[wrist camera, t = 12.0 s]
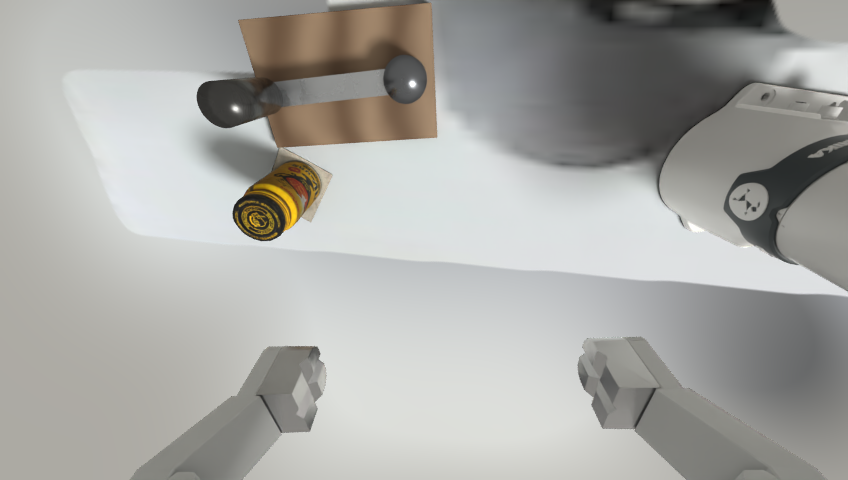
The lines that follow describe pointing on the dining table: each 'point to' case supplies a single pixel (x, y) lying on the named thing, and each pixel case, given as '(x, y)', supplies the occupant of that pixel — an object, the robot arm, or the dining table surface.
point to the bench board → (345, 71)
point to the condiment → (281, 197)
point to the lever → (307, 91)
